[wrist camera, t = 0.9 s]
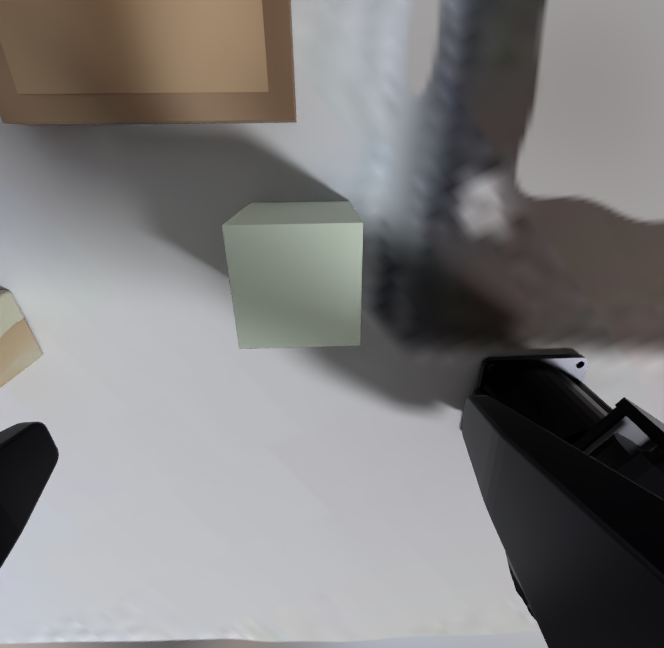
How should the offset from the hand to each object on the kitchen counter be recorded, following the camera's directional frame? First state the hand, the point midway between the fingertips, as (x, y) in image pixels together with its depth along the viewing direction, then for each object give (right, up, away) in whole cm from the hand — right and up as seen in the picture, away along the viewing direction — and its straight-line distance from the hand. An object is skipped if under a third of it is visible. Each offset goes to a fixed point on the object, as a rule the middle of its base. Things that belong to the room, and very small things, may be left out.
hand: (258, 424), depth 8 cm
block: (0, +6, +11) cm, 13 cm away
